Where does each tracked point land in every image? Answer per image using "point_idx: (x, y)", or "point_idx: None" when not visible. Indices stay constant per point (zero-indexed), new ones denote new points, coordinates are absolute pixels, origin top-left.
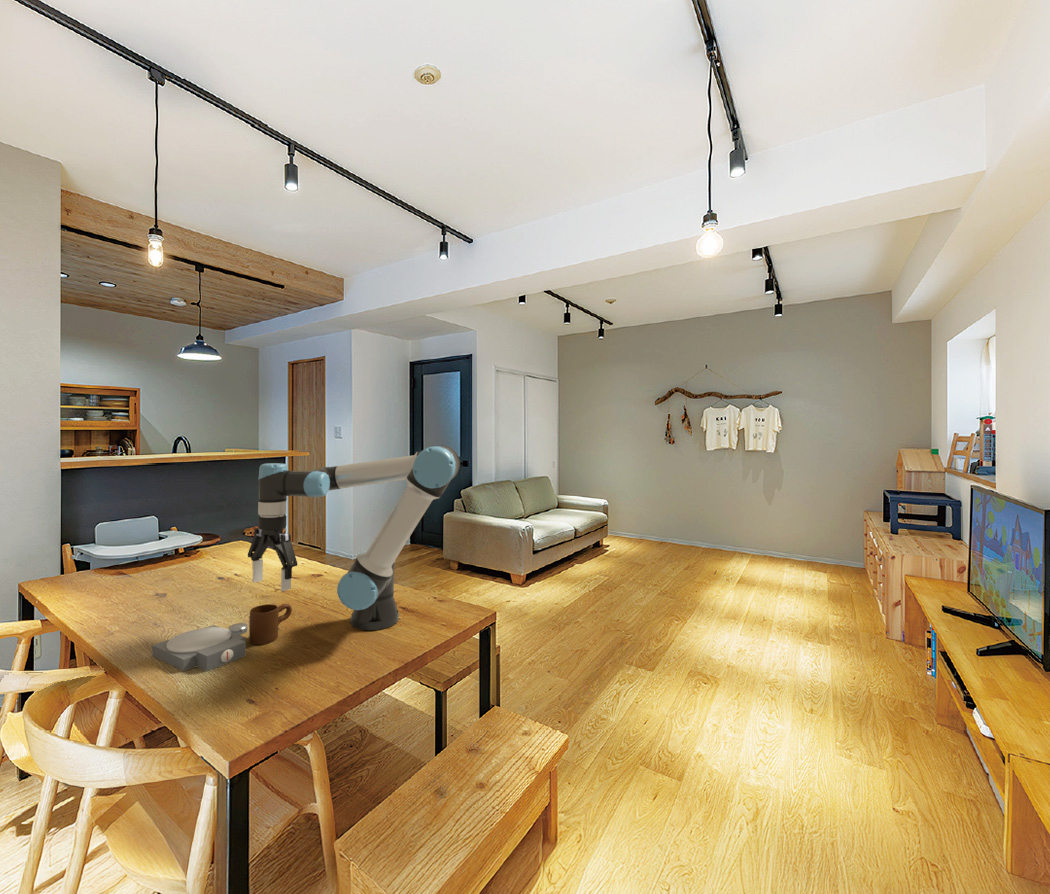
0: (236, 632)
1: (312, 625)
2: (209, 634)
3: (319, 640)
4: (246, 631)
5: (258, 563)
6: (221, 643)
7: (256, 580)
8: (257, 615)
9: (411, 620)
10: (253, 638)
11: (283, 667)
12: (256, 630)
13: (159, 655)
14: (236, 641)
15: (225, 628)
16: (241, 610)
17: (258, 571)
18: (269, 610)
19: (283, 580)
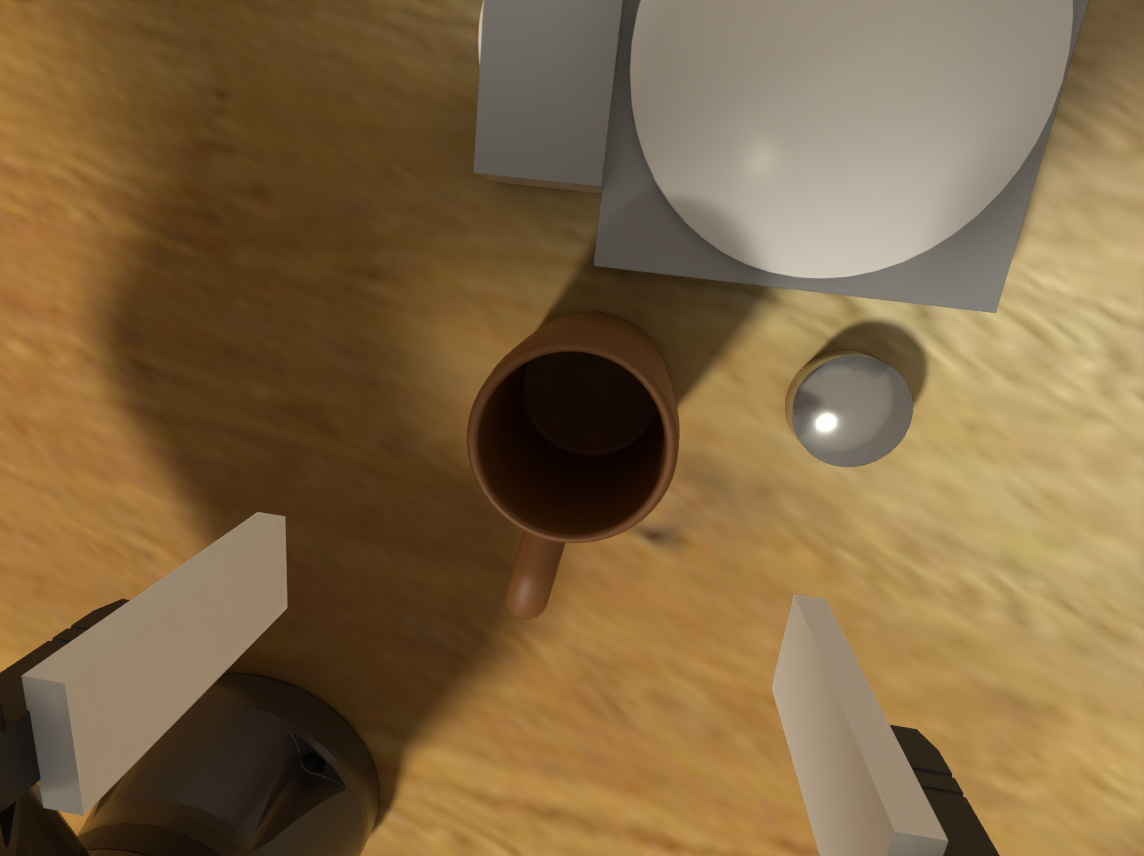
0: (811, 368)
1: (505, 633)
2: (834, 145)
3: (312, 504)
4: (790, 427)
5: (852, 844)
6: (596, 68)
7: (791, 632)
8: (529, 345)
9: None
10: (579, 313)
11: (193, 182)
12: (550, 324)
13: None
14: (530, 144)
15: (815, 274)
16: (1118, 652)
17: (812, 733)
18: (614, 510)
19: (174, 581)
